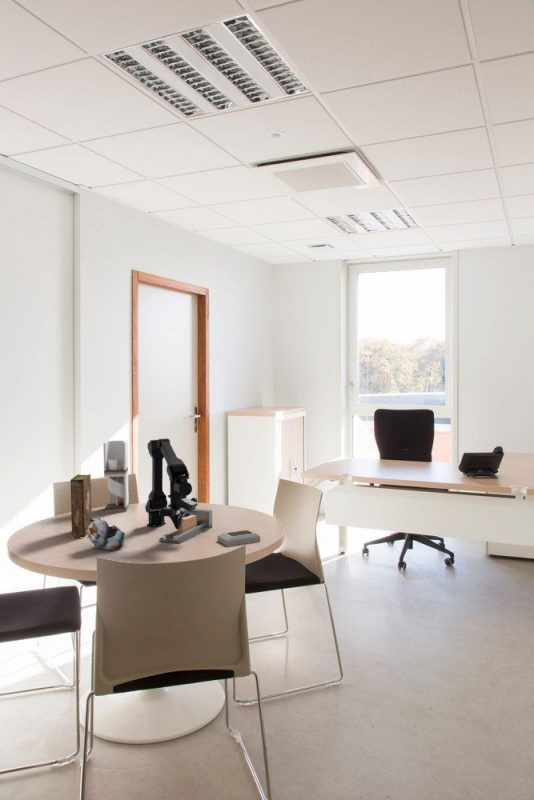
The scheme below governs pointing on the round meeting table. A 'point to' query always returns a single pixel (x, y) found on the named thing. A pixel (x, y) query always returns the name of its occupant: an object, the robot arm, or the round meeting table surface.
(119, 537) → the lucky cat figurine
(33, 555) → the round meeting table surface
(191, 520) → the tan flat rectangular block
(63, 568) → the round meeting table surface
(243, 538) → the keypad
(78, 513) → the book
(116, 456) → the grey shelving unit
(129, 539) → the round meeting table surface
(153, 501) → the robot arm
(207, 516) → the track base
